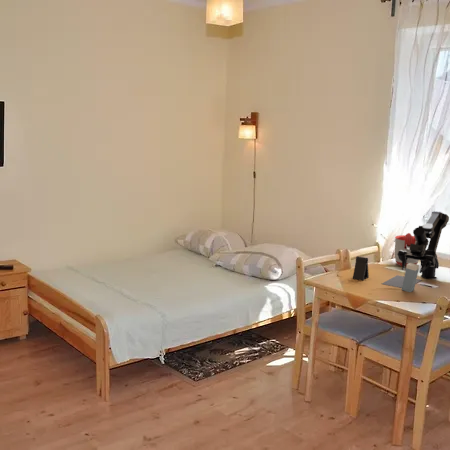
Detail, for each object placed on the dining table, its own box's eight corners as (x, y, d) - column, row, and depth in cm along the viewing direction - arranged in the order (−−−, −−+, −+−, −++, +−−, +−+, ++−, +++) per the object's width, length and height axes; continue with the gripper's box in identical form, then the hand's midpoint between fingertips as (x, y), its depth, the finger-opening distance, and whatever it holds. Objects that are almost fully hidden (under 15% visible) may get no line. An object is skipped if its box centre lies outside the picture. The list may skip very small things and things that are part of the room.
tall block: (404, 287, 287) (410, 262, 284) (413, 290, 285) (419, 265, 281) (401, 289, 284) (406, 264, 280) (410, 292, 281) (416, 267, 277)
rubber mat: (397, 275, 312) (397, 275, 311) (421, 280, 303) (421, 279, 303) (381, 284, 295) (381, 283, 295) (407, 289, 286) (407, 288, 286)
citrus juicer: (394, 267, 329) (397, 235, 325) (391, 260, 346) (394, 229, 342) (422, 269, 326) (424, 236, 322) (417, 262, 343) (420, 231, 339)
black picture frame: (362, 280, 301) (364, 259, 299) (352, 278, 304) (353, 258, 302) (368, 277, 308) (370, 256, 306) (358, 275, 312) (359, 254, 309)
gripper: (400, 235, 291) (390, 259, 285) (435, 240, 280) (426, 265, 273) (404, 247, 299) (395, 271, 292) (439, 253, 287) (430, 277, 281)
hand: (411, 271), depth 285 cm, fingers open, 9 cm apart
